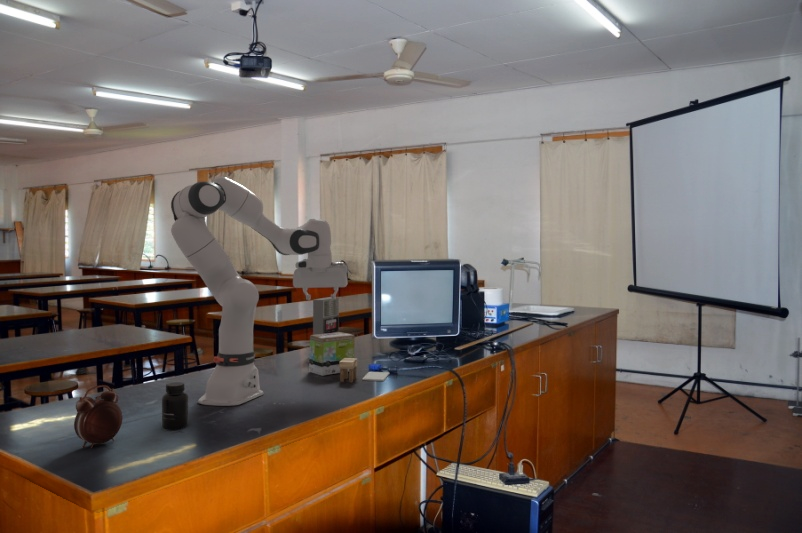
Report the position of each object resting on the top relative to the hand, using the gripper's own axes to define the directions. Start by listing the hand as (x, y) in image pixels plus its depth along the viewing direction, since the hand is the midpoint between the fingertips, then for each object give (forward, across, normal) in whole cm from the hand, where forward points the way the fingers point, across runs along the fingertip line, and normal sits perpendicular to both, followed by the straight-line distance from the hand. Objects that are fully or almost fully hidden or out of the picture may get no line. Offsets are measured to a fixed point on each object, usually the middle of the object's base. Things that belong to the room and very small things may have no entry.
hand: (320, 299), depth 227 cm
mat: (+30, -20, -2) cm, 36 cm away
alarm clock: (+27, +42, +79) cm, 94 cm away
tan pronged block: (+30, -10, +4) cm, 32 cm away
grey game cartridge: (+30, +8, -48) cm, 57 cm away
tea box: (+30, -2, -10) cm, 31 cm away
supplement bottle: (+28, +29, +64) cm, 75 cm away
